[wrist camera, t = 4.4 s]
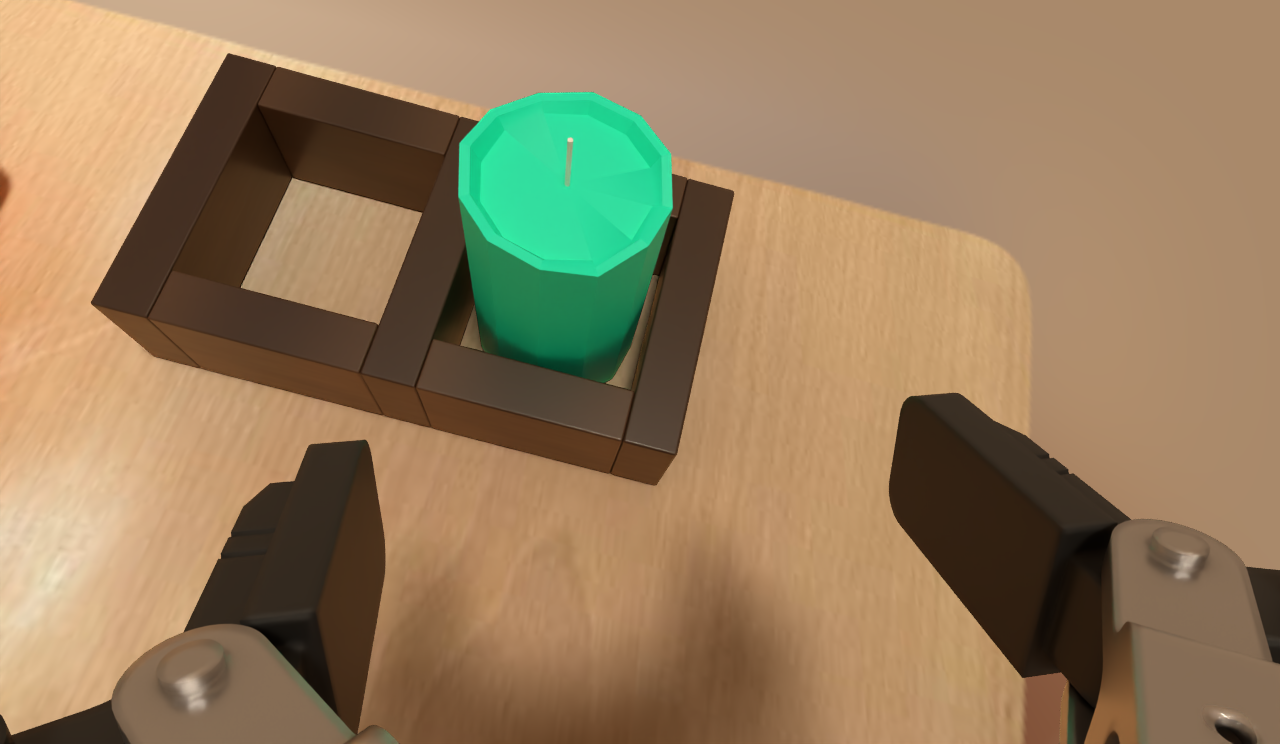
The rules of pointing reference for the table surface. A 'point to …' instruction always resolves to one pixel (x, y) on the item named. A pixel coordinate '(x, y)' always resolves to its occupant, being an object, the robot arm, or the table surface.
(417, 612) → the table surface
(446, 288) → the rack
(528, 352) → the candle
